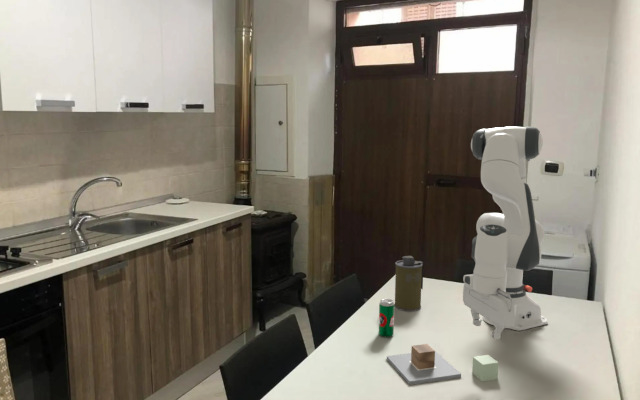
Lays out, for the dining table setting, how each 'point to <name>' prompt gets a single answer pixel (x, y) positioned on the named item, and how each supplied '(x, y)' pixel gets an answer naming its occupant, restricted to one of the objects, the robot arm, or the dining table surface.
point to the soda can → (386, 318)
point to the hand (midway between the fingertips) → (486, 331)
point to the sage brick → (485, 367)
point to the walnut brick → (423, 356)
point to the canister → (408, 284)
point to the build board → (416, 375)
